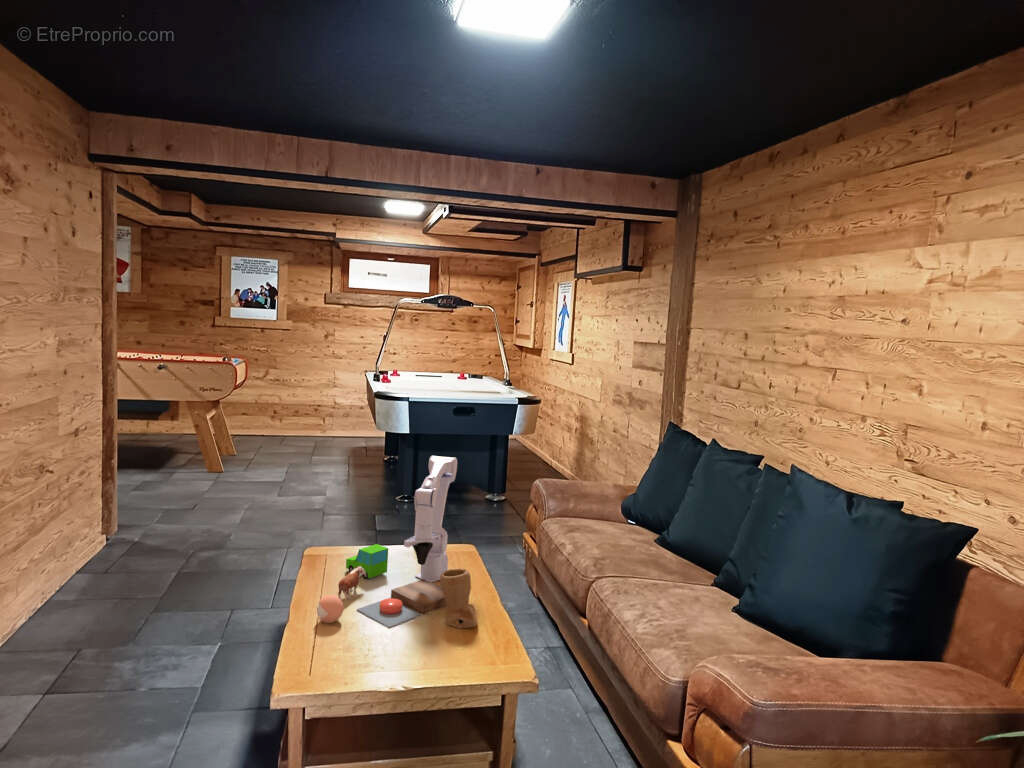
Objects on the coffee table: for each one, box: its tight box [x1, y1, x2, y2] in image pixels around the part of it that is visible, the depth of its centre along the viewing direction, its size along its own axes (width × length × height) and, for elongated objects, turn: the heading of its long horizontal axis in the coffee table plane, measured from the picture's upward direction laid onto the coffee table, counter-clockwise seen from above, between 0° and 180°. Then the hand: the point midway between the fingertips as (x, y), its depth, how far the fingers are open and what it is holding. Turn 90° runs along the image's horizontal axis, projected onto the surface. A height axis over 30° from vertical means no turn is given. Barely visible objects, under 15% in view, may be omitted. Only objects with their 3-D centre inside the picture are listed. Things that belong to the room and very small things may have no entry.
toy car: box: [345, 543, 389, 580], centre depth 232 cm, size 10×13×10 cm
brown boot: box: [440, 568, 478, 629], centre depth 200 cm, size 15×12×15 cm
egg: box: [316, 594, 344, 624], centre depth 193 cm, size 8×8×8 cm
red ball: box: [380, 597, 402, 615], centre depth 203 cm, size 7×7×2 cm
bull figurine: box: [337, 566, 366, 600], centre depth 213 cm, size 4×13×8 cm, turn 161°
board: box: [390, 579, 447, 616], centre depth 213 cm, size 14×16×3 cm
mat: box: [356, 597, 423, 629], centre depth 202 cm, size 13×16×1 cm
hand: (421, 563), depth 217 cm, fingers closed
